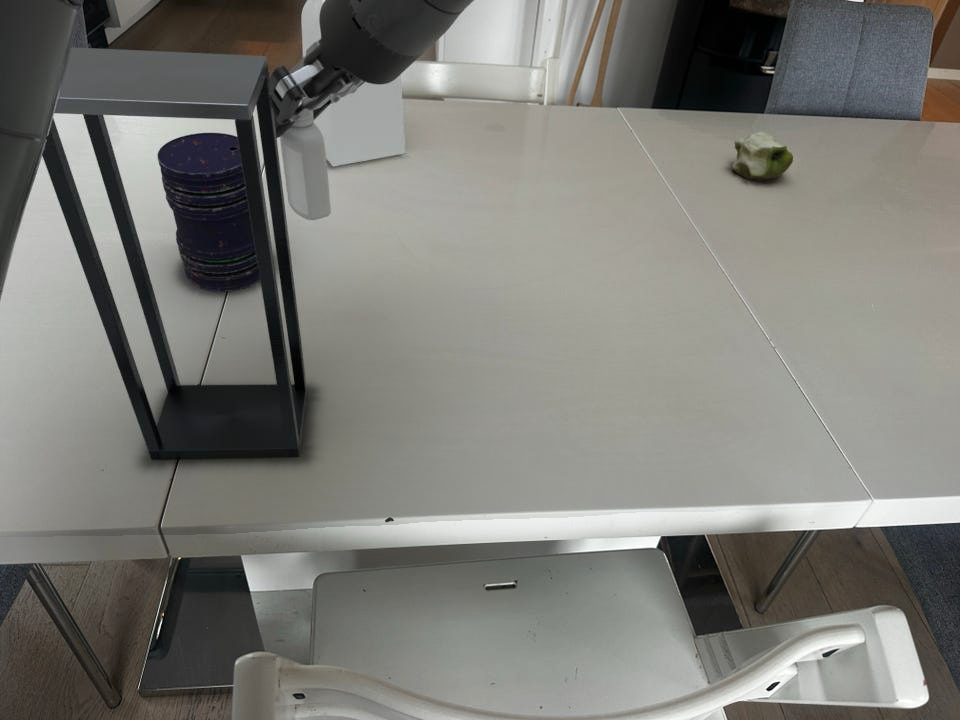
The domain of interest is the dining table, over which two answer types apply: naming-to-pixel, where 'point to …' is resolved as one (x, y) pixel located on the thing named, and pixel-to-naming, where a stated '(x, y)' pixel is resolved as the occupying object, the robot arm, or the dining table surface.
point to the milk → (357, 111)
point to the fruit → (761, 157)
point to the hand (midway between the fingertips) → (285, 120)
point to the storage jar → (210, 210)
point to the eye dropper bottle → (306, 168)
